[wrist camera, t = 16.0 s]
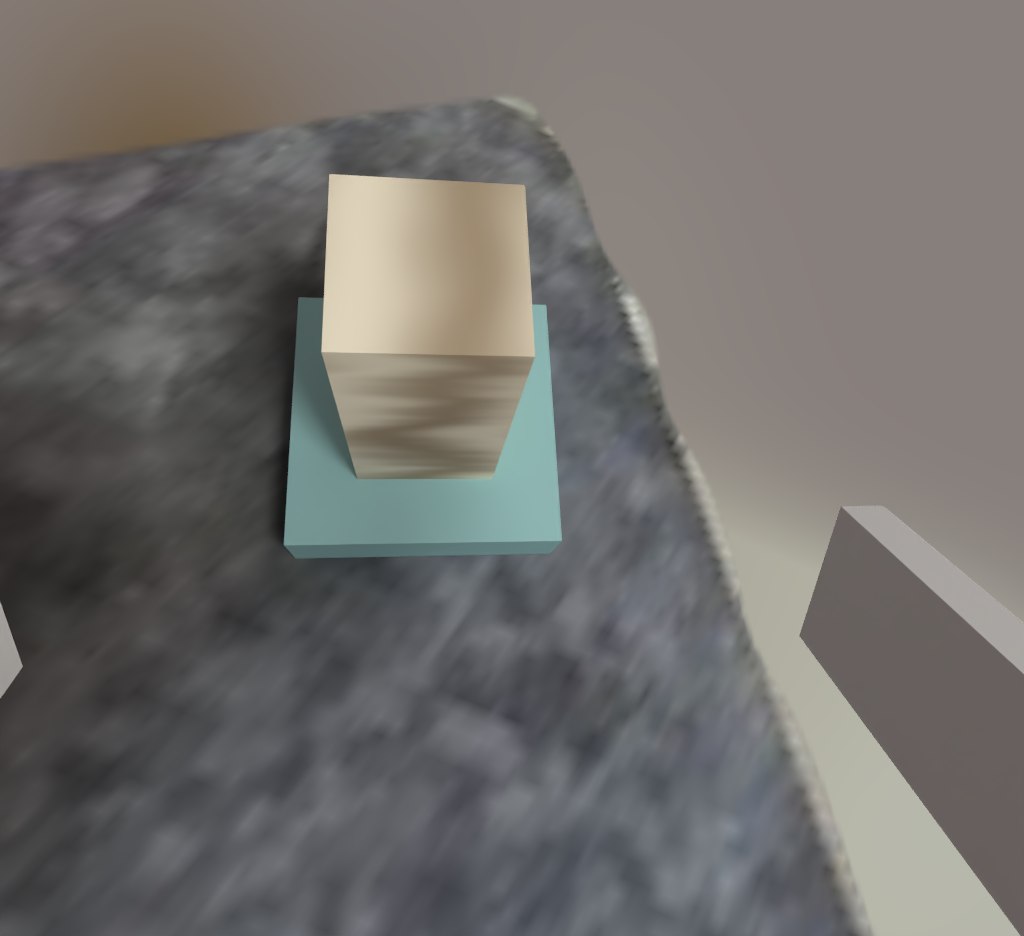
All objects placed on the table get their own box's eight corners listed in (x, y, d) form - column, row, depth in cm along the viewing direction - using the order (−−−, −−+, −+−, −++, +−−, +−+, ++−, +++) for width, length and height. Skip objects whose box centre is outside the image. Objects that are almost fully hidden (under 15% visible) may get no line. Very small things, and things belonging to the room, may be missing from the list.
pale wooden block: (357, 479, 30) (321, 352, 19) (360, 356, 32) (329, 174, 21) (492, 478, 31) (535, 356, 20) (488, 359, 33) (524, 185, 22)
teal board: (295, 558, 32) (283, 545, 29) (308, 328, 35) (298, 297, 33) (549, 553, 33) (561, 541, 31) (536, 334, 37) (546, 305, 34)
